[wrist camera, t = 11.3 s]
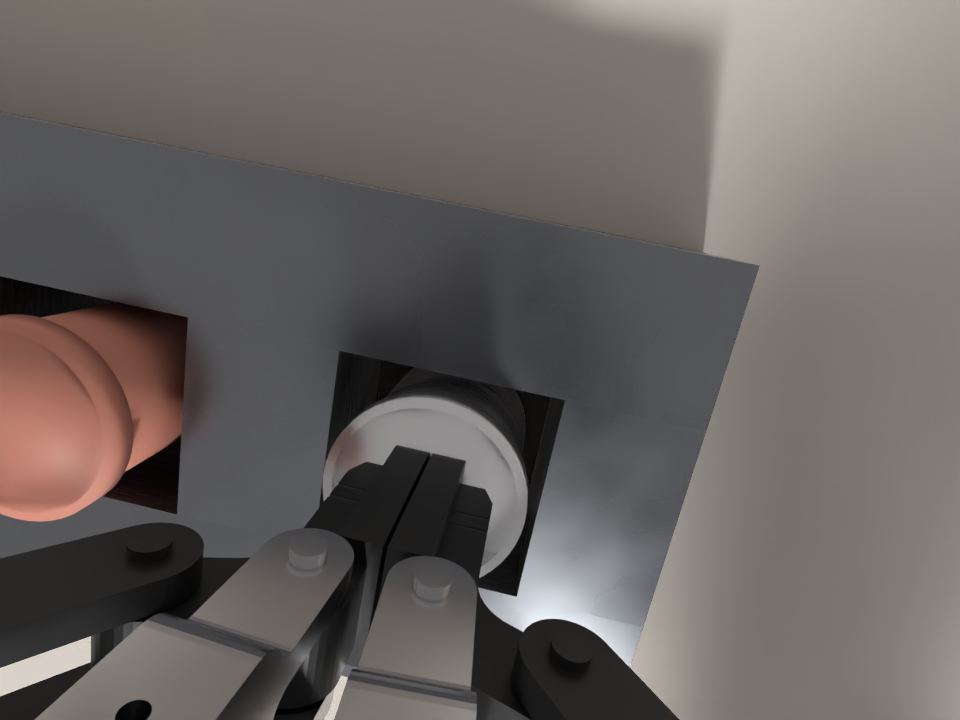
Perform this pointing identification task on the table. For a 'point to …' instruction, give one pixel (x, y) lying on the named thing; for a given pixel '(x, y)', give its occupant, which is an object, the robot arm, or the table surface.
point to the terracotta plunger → (84, 403)
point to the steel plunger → (448, 443)
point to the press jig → (377, 350)
